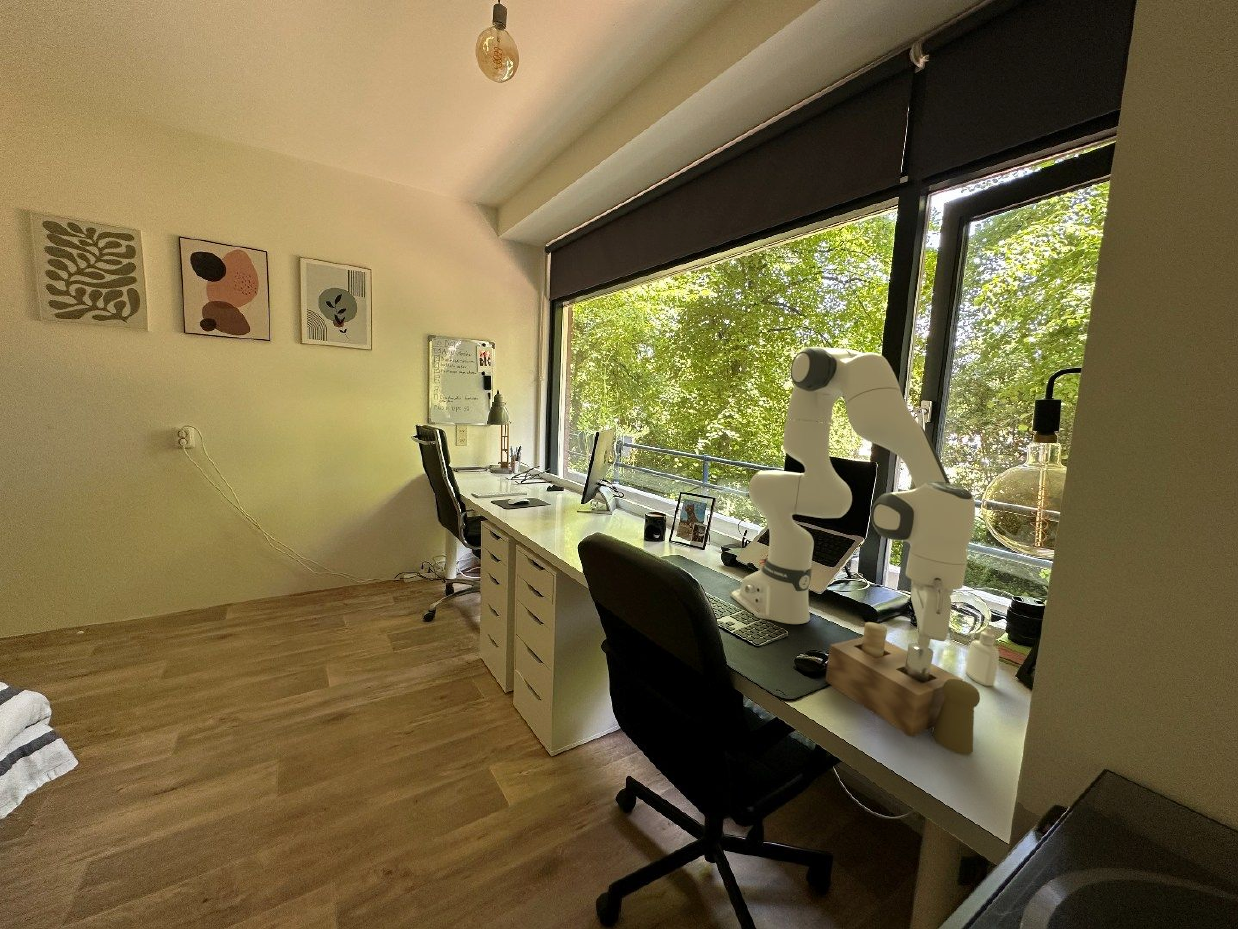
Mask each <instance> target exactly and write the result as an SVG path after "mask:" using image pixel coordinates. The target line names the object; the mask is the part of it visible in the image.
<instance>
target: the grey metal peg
mask: <svg viewBox="0 0 1238 929" xmlns="http://www.w3.org/2000/svg"><path fill="white" fill-rule="evenodd" d="M906 651H907V656H906V662H905V668H904V674H906V675H907V676H909V677H911V678H913V679H915V680H916V681H918V682H920V683H925V682H928V680H929V675H930V669H931V664H933V659H934V658H933V656H934V650H933V649H932V648H930V647H929V646H928V647H924V646H921V645H919V644H918V643H914V642H911V643H908V646H907V650H906Z"/></svg>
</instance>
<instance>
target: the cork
mask: <svg viewBox="0 0 1238 929" xmlns="http://www.w3.org/2000/svg"><path fill="white" fill-rule="evenodd" d="M943 694H944V696H945V699H944V701H943V704H942V707H941V709H940V712H939V715H938V717H937V720H936V723H935V725H934V728H932V731H931V738H932V740H933V741H934V742H935V743H936V744H937V745H938V746H941V747H942V748H943V749H945V750H947V751H949V752H952V753H954V754H958V755H961V756H968V755H972V754H973V752H974V721H975V720H974V719H975V718H974V717H975V716H974V715H975V714H974V713H975V708H976V707H978V705H979V703H980V700H981V695H980V692H979V689H977V688H976V687H975V686H974V685H973V684H971V683H969V682H967V681H964V680H963V681H962V680H959V679H948V680H947V681H946V682H945V683H944V685H943Z"/></svg>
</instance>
